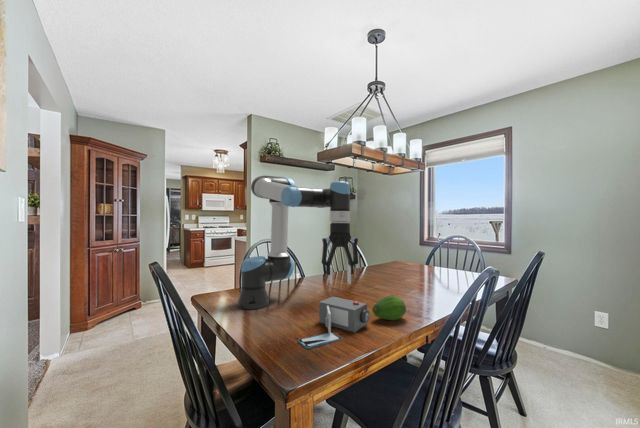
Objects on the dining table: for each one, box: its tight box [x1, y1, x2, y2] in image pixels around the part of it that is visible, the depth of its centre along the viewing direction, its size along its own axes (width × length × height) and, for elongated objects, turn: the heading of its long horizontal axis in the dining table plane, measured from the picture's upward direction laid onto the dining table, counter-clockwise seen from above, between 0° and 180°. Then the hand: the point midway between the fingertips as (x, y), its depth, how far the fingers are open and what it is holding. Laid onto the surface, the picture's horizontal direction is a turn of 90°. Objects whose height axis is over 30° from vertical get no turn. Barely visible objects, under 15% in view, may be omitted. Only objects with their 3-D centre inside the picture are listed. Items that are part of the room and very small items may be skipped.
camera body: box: [318, 296, 370, 333], centre depth 116 cm, size 19×10×9 cm, turn 53°
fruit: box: [371, 295, 407, 321], centre depth 120 cm, size 15×10×10 cm, turn 107°
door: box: [325, 305, 332, 333], centre depth 109 cm, size 10×2×7 cm, turn 3°
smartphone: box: [297, 331, 343, 350], centre depth 100 cm, size 7×1×15 cm
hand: (339, 282), depth 107 cm, fingers open, 6 cm apart
